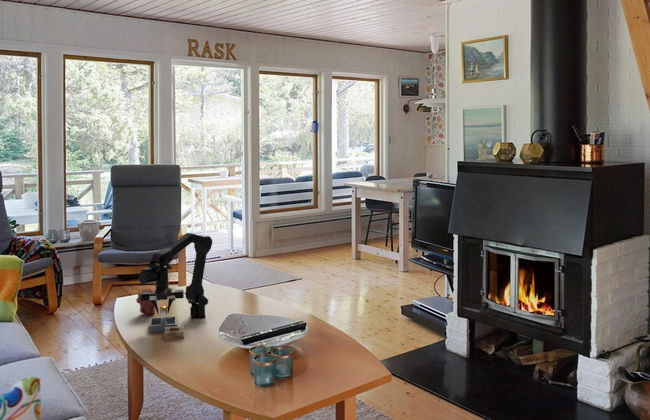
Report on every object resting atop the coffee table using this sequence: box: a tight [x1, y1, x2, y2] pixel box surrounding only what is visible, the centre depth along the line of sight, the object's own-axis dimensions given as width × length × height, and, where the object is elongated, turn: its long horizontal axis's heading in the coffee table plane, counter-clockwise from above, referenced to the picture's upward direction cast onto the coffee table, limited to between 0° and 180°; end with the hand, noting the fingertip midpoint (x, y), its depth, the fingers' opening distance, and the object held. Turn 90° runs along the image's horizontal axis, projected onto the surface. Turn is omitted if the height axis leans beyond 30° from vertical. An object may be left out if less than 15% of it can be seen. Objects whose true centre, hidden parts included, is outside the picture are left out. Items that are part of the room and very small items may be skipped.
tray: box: [148, 315, 178, 334], centre depth 270 cm, size 12×12×3 cm
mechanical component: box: [135, 288, 159, 317], centre depth 289 cm, size 12×10×10 cm
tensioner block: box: [164, 325, 185, 341], centre depth 259 cm, size 8×8×3 cm
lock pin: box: [159, 305, 168, 325], centre depth 270 cm, size 3×3×9 cm
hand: (163, 313), depth 269 cm, fingers open, 4 cm apart
